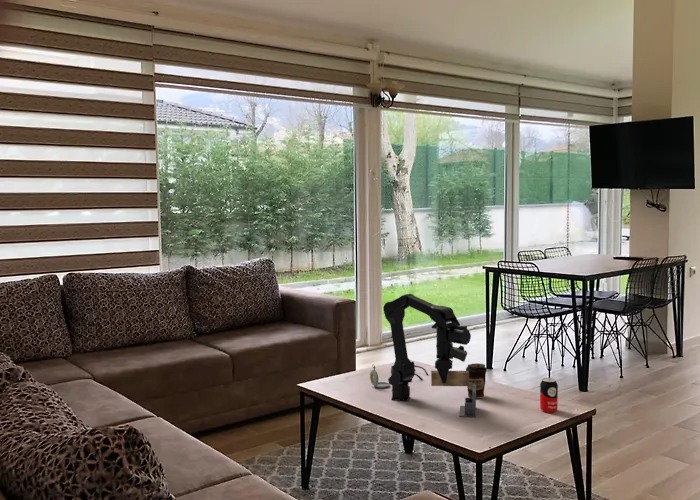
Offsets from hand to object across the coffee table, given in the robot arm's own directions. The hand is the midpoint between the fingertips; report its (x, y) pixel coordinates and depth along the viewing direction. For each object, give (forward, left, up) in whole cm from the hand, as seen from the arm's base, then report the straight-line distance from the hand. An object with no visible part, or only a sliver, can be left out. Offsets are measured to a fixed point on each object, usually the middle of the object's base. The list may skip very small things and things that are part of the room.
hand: (444, 381), depth 257 cm
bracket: (+9, 0, -11) cm, 14 cm away
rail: (+2, 0, -1) cm, 2 cm away
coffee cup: (+12, +20, -11) cm, 26 cm away
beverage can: (+39, +6, -12) cm, 41 cm away
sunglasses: (-18, +47, -12) cm, 52 cm away
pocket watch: (-29, +28, -12) cm, 42 cm away
